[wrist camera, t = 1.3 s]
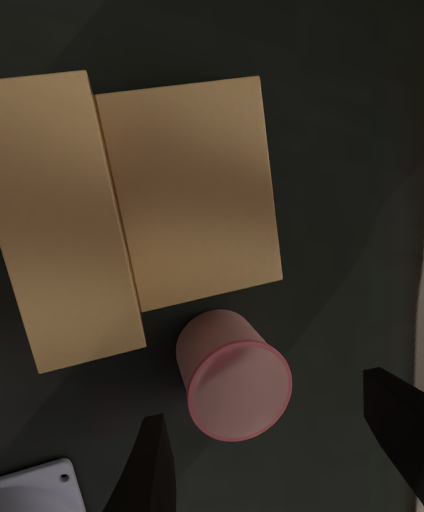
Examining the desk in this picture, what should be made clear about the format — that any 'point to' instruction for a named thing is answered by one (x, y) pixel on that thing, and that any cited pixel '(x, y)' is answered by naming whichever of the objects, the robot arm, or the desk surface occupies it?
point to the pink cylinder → (231, 376)
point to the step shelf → (129, 205)
